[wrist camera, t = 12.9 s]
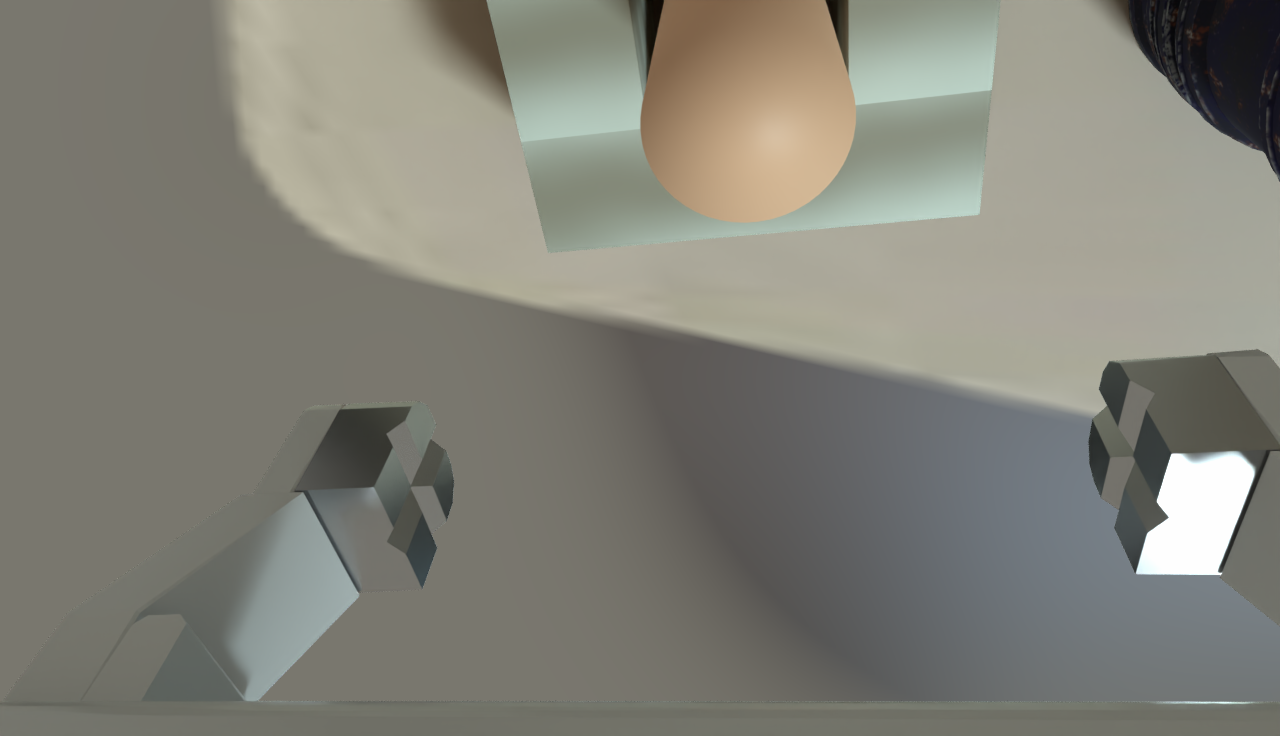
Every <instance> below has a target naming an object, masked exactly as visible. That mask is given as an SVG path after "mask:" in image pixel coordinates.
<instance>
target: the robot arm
mask: <svg viewBox="0 0 1280 736" xmlns="http://www.w3.org/2000/svg"><path fill="white" fill-rule="evenodd" d="M1099 390H1100V392H1101V394H1102V396H1103V398H1104V400H1105V402H1106V404H1107V407H1105V408H1104V409H1103V410H1102V411H1101V412H1100V413H1099V414H1097V415H1096V416H1095V417H1094V418H1093V419H1092V424H1091V429H1090V435H1089V441H1088V443H1089V444H1088V445H1089V464H1090V468H1091V472H1092V476H1093V480H1094V483H1095V485H1096V487H1097V490H1098V492H1099V495H1100V497H1101V498H1102V499H1103V500H1105V501H1106V502H1108V503H1109V504H1111V505H1112V506H1114V507H1115V508H1117V509H1118V510H1119V512H1118V515H1117V519H1116V523H1115V527H1114V528H1115V530H1116V533H1117V535H1118V537H1119V539H1120V541H1121V544H1122V546H1123V548H1124V550H1125V552H1126V554H1127V556H1128V558H1129V561H1130V563H1131V565H1132V567H1133V570H1134V572H1135V574H1221V576H1220V578H1221V579H1222V580H1223V581H1224V582H1226V583H1227V584H1228V585H1229V586H1231V587H1232V588H1233V589H1234V590H1235V591H1237V592H1238V593H1239V594H1240V595H1242V596H1243V597H1244V598H1246V599H1247V600H1248V601H1249V602H1250V603H1252V604H1253V605H1254V606H1255V607H1257V608H1258V609H1259V610H1260V611H1262V612H1263V613H1264V614H1265V615H1266V616H1268V617H1269V618H1270V619H1272V620H1273V621H1274V622H1275V623H1277V624H1278V625H1279V626H1280V368H1279V367H1278V366H1277V364H1276V363H1275V362H1274V361H1273V360H1272V358H1271V357H1270V356H1269V355H1268V354H1266V353H1264V352H1262V351H1260V350H1246V351H1233V352H1221V353H1208V354H1206V355H1197V356H1182V357H1166V358H1150V359H1134V360H1119V361H1109V363H1108V364H1107V366H1106V368H1105V369H1104V371H1103V374H1102V378H1101V382H1100V387H1099ZM435 426H436V424H435V422H434V419H433V417H432V414H431V412H430V410H429V408H428V406H427V405H425V404H423V403H421V402H419V401H415V402H389V403H388V402H387V403H359V404H348V405H321V406H312V407H310V408H308V409H307V410H305V411H303V413H302V415H301V416H300V418H299V419H298V421H297V422H296V424H295V426H294V427H293V429H292V431H291V432H290V434H289V436H288V438H287V439H286V440H285V442H284V444H283V445H282V447H281V449H280V450H279V452H278V453H277V455H276V457H275V458H274V460H273V462H272V463H271V465H270V466H269V468H268V470H267V471H266V473H265V475H264V476H263V478H262V480H261V481H260V483H259V484H258V486H257V488H256V489H255V491H254V492H253V494H246V495H240V496H239V497H237V498H236V499H234V500H233V501H231V502H230V503H228V504H227V505H226V506H224V507H222V508H221V509H220V510H218V511H217V512H215V513H214V514H212V515H211V516H209V517H208V518H206V519H205V520H203V521H202V522H200V523H199V524H197V525H196V526H195V527H193V528H192V529H190V530H189V531H187V532H186V533H184V534H183V535H181V536H180V537H178V538H177V539H176V540H174V541H173V542H171V543H169V544H168V545H167V546H165V547H164V548H162V549H161V550H159V551H158V552H156V553H155V554H153V555H152V556H150V557H149V558H147V559H146V560H144V561H143V562H141V563H140V564H139V565H137V566H136V567H134V568H133V569H131V570H130V571H128V572H127V573H125V574H124V575H122V576H121V577H119V578H118V579H116V580H115V581H114V582H112V583H111V584H109V585H108V586H106V587H105V588H103V589H102V590H100V591H99V592H97V593H96V594H95V595H93V596H91V597H90V598H88V599H87V600H86V601H84V602H83V603H81V604H80V605H78V606H77V607H75V608H74V609H72V610H71V611H69V612H68V613H67V614H66V615H65V616H64V618H63V619H62V620H61V622H60V623H59V625H58V626H57V627H56V629H55V630H54V631H53V633H52V634H51V636H50V637H49V638H48V639H47V641H46V642H45V644H44V645H43V646H42V648H41V649H40V650H39V652H38V653H37V654H36V656H35V657H34V659H33V660H32V661H31V663H30V664H29V665H28V667H27V668H26V670H25V671H24V672H23V673H22V675H21V676H20V678H19V679H18V680H17V682H16V683H15V684H14V686H13V687H12V688H11V690H10V691H9V693H8V694H7V695H6V697H5V698H4V700H3V701H0V736H1280V702H749V701H748V702H747V701H745V702H743V701H741V702H740V701H737V702H736V701H730V702H727V701H725V702H724V701H716V702H715V701H713V702H711V701H706V702H705V701H700V702H699V701H697V702H696V701H695V702H694V701H691V702H690V701H686V702H685V701H679V702H678V701H653V702H651V701H645V702H644V701H637V702H636V701H258V700H259V699H260V698H261V697H262V696H263V695H264V694H265V693H266V692H267V691H268V690H269V689H270V688H271V687H272V685H274V683H275V682H276V681H277V680H278V679H279V678H280V677H281V676H282V675H283V674H284V673H285V672H286V671H287V670H288V669H289V668H290V667H291V666H292V665H293V664H294V663H295V662H296V661H297V660H298V659H299V658H300V657H301V656H302V655H303V654H304V653H305V652H306V651H307V650H308V648H309V647H310V646H311V645H312V644H313V643H314V642H315V641H316V640H317V639H318V638H319V637H320V636H321V635H322V634H323V633H324V632H325V631H326V630H327V629H328V628H329V627H330V626H331V625H332V624H333V623H334V622H335V621H336V620H337V619H338V618H339V617H340V616H341V614H342V613H343V612H344V611H345V610H346V609H347V608H348V607H349V606H350V605H351V604H352V603H353V602H354V601H355V600H356V599H357V598H358V597H359V594H358V593H359V592H360V593H361V592H380V591H400V590H419V589H423V586H424V583H425V581H426V578H427V575H428V572H429V569H430V566H431V564H432V561H433V558H434V555H435V553H436V550H437V546H436V544H435V541H434V539H433V537H432V533H433V532H434V531H436V529H438V528H439V527H440V526H441V525H443V524H444V523H445V522H446V521H447V519H448V515H449V512H450V509H451V506H452V503H453V488H454V478H453V472H452V466H451V463H450V460H449V457H448V455H447V452H446V450H445V449H443V448H442V447H440V446H439V445H438V444H437V443H435V442H434V441H432V440H431V436H432V434H433V431H434V429H435Z"/></svg>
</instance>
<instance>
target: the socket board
mask: <svg viewBox="0 0 1280 736" xmlns="http://www.w3.org/2000/svg"><path fill="white" fill-rule="evenodd" d="M486 1H487V5H488V9H489V13H490V17H491V21H492V25H493V29H494V33H495V37H496V41H497V46H498V50H499V54H500V58H501V62H502V66H503V70H504V74H505V78H506V82H507V86H508V91H509V95H510V99H511V103H512V107H513V111H514V115H515V119H516V123H517V127H518V131H519V136H520V140H521V144H522V148H523V152H524V156H525V160H526V164H527V168H528V172H529V176H530V181H531V185H532V189H533V193H534V197H535V201H536V205H537V209H538V213H539V217H540V221H541V226H542V230H543V234H544V238H545V242H546V246H547V250H548V253H553V252H564V251H576V250H587V249H598V248H609V247H621V246H632V245H643V244H654V243H666V242H677V241H688V240H699V239H711V238H722V237H733V236H745V235H756V234H767V233H778V232H790V231H801V230H812V229H823V228H835V227H846V226H857V225H868V224H880V223H891V222H902V221H914V220H925V219H936V218H947V217H959V216H970V215H979V213H980V202H981V192H982V182H983V172H984V162H985V152H986V142H987V132H988V122H989V111H990V101H991V91H992V81H993V71H994V61H995V51H996V41H997V30H998V20H999V10H1000V0H825V1H826V4H827V7H828V11H829V14H830V17H831V20H832V24H833V27H834V30H835V33H836V37H837V40H838V43H839V46H840V50H841V53H842V56H843V60H844V63H845V66H846V69H847V73H848V76H849V79H850V82H851V86H852V90H853V93H854V97H855V106H856V126H855V132H854V138H853V141H852V145H851V148H850V151H849V153H848V156H847V158H846V160H845V162H844V164H843V166H842V167H841V169H840V171H839V172H838V174H837V175H836V176H835V178H834V179H833V180H832V182H831V183H830V184H829V185H828V186H827V187H826V188H825V189H824V190H823V191H822V192H821V193H820V194H819V195H818V196H816V197H815V198H814V199H813V200H811V201H810V202H809V203H807V204H805V205H804V206H802V207H800V208H799V209H797V210H795V211H793V212H790V213H788V214H786V215H783V216H780V217H777V218H774V219H770V220H765V221H760V222H749V223H740V222H728V221H722V220H717V219H714V218H710V217H707V216H705V215H702V214H700V213H697V212H695V211H693V210H692V209H690V208H688V207H686V206H685V205H683V204H682V203H681V202H679V201H678V200H677V199H675V198H674V197H673V196H672V195H671V194H670V193H669V192H668V191H667V190H666V189H665V188H664V187H663V186H662V184H661V183H660V182H659V181H658V179H657V178H656V176H655V174H654V173H653V171H652V169H651V168H650V165H649V163H648V161H647V158H646V156H645V152H644V149H643V145H642V139H641V132H640V116H641V109H642V102H643V98H644V93H645V88H646V84H647V79H648V74H649V70H650V65H651V60H652V55H653V51H654V46H655V41H656V37H657V32H658V27H659V23H660V18H661V13H662V8H663V4H664V0H486Z"/></svg>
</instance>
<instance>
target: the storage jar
mask: <svg viewBox="0 0 1280 736" xmlns="http://www.w3.org/2000/svg"><path fill="white" fill-rule="evenodd" d="M1129 15H1130V20H1131V24H1132V28H1133V32H1134V36H1135V38H1136V40H1137V42H1138V44H1139V46H1140V48H1141V50H1142V52H1143V53H1144V55H1145V56H1146V57H1147V58H1148V60H1149V61H1150V62H1151V63H1152V65H1153V66H1154V67H1155V68H1156V69H1157V70H1158V71H1159V72H1161V73H1162V74H1163V75H1164V76H1165V77H1167V79H1168V81H1169V82H1170V83H1171V85H1172V86H1173V87H1174V88H1175V90H1176V91H1177V92H1178V93H1179V95H1180V96H1181V97H1182V98H1183V99H1184V100H1185V101H1186V102H1188V103H1189V104H1190V105H1191V106H1192V107H1193V108H1194V109H1196V110H1197V111H1198V112H1199V113H1200V115H1201V116H1202V117H1203V118H1204V119H1205V120H1206V121H1207V122H1208V123H1210V124H1211V125H1212V126H1213V127H1215V128H1216V129H1217V130H1219V131H1220V132H1221V133H1223V134H1225V135H1228V136H1230V137H1231V138H1233V139H1234V140H1236V141H1238V142H1240V143H1242V144H1244V145H1246V146H1248V147H1250V148H1253V149H1256V150H1260V151H1263V152H1264V153H1265V154H1266V156H1267V158H1268V160H1269V163H1270V165H1271V167H1272V169H1273V171H1274V172H1275V173H1276V175H1277V177H1278V179H1279V181H1280V0H1129Z"/></svg>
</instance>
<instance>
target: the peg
mask: <svg viewBox="0 0 1280 736" xmlns="http://www.w3.org/2000/svg"><path fill="white" fill-rule="evenodd" d="M855 126H856V106H855V97H854V93H853V90H852V86H851V82H850V79H849V76H848V73H847V69H846V66H845V63H844V60H843V56H842V53H841V50H840V46H839V43H838V40H837V37H836V33H835V30H834V27H833V24H832V20H831V17H830V14H829V11H828V7H827V4H826V1H825V0H664V4H663V8H662V13H661V18H660V23H659V27H658V32H657V37H656V41H655V46H654V51H653V55H652V60H651V65H650V70H649V74H648V79H647V84H646V88H645V93H644V98H643V102H642V109H641V116H640V132H641V139H642V145H643V149H644V152H645V156H646V158H647V161H648V163H649V165H650V168H651V169H652V171H653V173H654V174H655V176H656V178H657V179H658V181H659V182H660V183H661V184H662V186H663V187H664V188H665V189H666V190H667V191H668V192H669V193H670V194H671V195H672V196H673V197H674V198H675V199H677V200H678V201H679V202H681V203H682V204H683V205H685V206H686V207H688V208H690V209H692V210H693V211H695V212H697V213H700V214H702V215H705V216H707V217H710V218H714V219H717V220H722V221H728V222H740V223H749V222H760V221H765V220H770V219H774V218H777V217H780V216H783V215H786V214H788V213H790V212H793V211H795V210H797V209H799V208H800V207H802V206H804V205H805V204H807V203H809V202H810V201H811V200H813V199H814V198H815V197H816V196H818V195H819V194H820V193H821V192H822V191H823V190H824V189H825V188H826V187H827V186H828V185H829V184H830V183H831V182H832V180H833V179H834V178H835V176H836V175H837V174H838V172H839V171H840V169H841V167H842V166H843V164H844V162H845V160H846V158H847V156H848V153H849V151H850V148H851V145H852V141H853V138H854V132H855Z"/></svg>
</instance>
